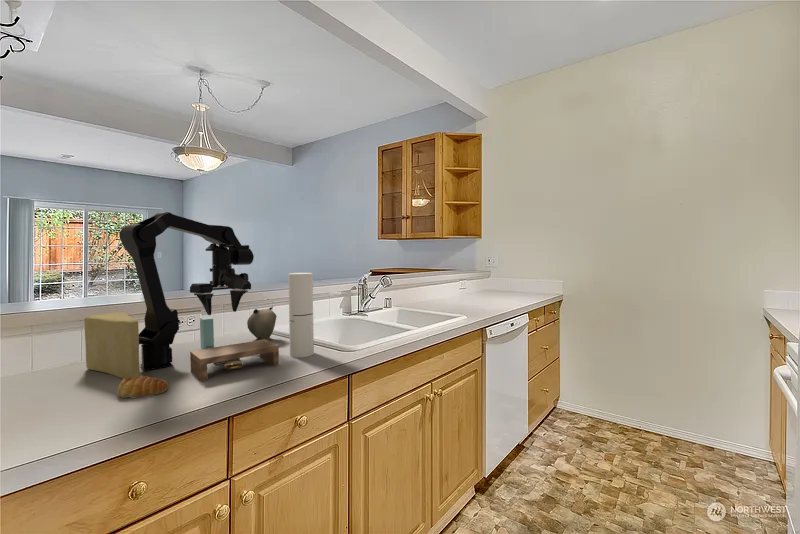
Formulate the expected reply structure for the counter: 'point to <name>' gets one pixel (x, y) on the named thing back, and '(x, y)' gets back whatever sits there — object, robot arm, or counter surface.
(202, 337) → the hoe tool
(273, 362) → the walnut shelf
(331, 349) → the counter surface
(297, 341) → the cylindrical container
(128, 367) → the cheese
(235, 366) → the brass puck
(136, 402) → the counter surface
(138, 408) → the counter surface
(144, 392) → the pastry
